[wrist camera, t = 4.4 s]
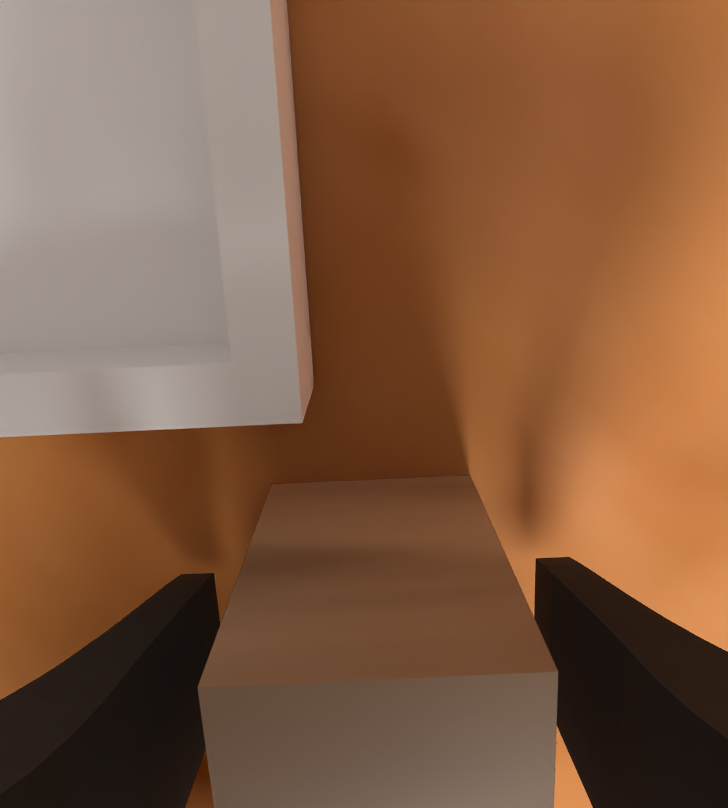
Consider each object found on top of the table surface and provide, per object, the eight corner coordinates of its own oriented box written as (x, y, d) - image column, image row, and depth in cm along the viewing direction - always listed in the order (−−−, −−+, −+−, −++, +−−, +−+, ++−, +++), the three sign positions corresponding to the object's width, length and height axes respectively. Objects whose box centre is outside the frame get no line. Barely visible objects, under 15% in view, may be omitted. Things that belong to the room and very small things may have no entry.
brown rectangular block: (470, 646, 14) (548, 942, 8) (287, 654, 14) (234, 955, 8) (469, 474, 13) (558, 671, 7) (272, 483, 13) (197, 686, 7)
